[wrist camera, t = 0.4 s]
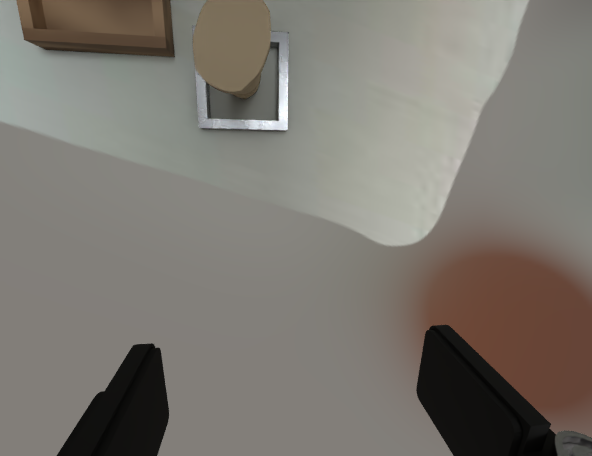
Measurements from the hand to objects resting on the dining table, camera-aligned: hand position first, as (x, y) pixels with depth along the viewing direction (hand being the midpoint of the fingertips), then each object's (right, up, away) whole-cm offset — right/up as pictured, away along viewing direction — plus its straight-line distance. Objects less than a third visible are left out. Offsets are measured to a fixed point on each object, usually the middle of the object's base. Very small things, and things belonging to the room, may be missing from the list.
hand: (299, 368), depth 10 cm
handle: (-6, +22, +24) cm, 33 cm away
